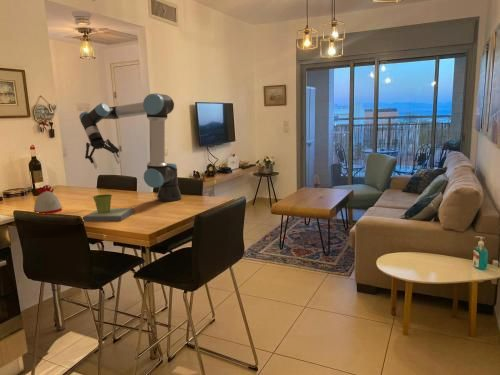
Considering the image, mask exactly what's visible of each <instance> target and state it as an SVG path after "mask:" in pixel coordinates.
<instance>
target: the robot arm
mask: <svg viewBox="0 0 500 375" xmlns="http://www.w3.org/2000/svg"><path fill="white" fill-rule="evenodd" d="M174 108H175V103H174V100H173V98H172V97H171V96H169V94H168V95H167V94H163V93H162V94H161V93H150V94H148V95H146V97H145V98H144V99H143V101H142V102H135V103H129V104H122V105H116V106H108V105H107V104H106V103H104V102H100V103H99V104H97V105H96V106H95V107H94V108H93V109H91V111H88V110H86V111H84V112H80V114H79V117H78V118H79V120H80V123H81V125H82V127H83V130H84V132H85V134H86V136H87V138H88V141H89V142H86V143H85V148H86V149H85V156H84V159H86V160H87V159H88V160H89V162H90V163H91V164H92V165H93V167H94V169H95V170H96V169H97V168H98V164H97V163H96V159H95V158H94V156H93V154H94V153H95V151H96V150H102V149H104V150H106V151H108V152H110V153H112V154H113V157H114V159H115V162H116V164H117V165H119V164H120V158H119V157H120V156H119V154H118V153H119V152H120V149H119V148H118V147H117V146H116V145H115V144H113V143H112V142H111V140H109V139H108V138H106V140H104V138H103V136H102V134H101V132H100V129H99V127H98V123H99V122H101V121H102V120H117V119H122V118H123V119H124V118H129V117H137V116H142V115H144V116H145V115H146V118H147V119H148V122H149V161H148V163H147V164H146V170H145V172H144V173H143V180H144V182H145V184H146V185H147V186H148V187H150V188H154V189H155V188H158V192H157V195H156V198H157V199H156V200H157V201H158V202H176V201H179V200H181V199H182V194H181V191H180V188H179V182H178V166H177V164H176V163H166V162H165V160H166V158H165V155H166V154H165V150H166V149H165V147H166V146H165V145H166V141H165V137H166V135H165V134H166V133H165V132H166V131H165V129H166V127H165V124H166V120H167V119H168V114H170V113H172V112H173V110H174ZM90 147H92V150H91V152H90ZM89 152H90V153H89Z"/></svg>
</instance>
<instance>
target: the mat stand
mask: <svg viewBox="0 0 500 375" xmlns="http://www.w3.org/2000/svg"><path fill="white" fill-rule="evenodd" d="M134 213H135V208H132V207H124V208H123V207H118V208H117V207H116V208H114V207H113V208H112V207H110V212H107V213H98V211H97V209H96V210H93V211H91V212H89V213H87V214H86V215H84V216H83V217H82V221H83V220H84V221H83V222H122V221H123V220H125V219H127V218H128V217H130V216H132V214H134Z"/></svg>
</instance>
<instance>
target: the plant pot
mask: <svg viewBox="0 0 500 375" xmlns="http://www.w3.org/2000/svg"><path fill="white" fill-rule="evenodd" d="M112 197H113V195H112V194H109V193H108V194H107V193H105V194H97V195H94V196H92V198H93V201H94V203H95V206H96V210H97V211H98V213H107V212H110V208H111V202H112Z"/></svg>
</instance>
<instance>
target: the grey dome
mask: <svg viewBox="0 0 500 375" xmlns="http://www.w3.org/2000/svg"><path fill="white" fill-rule="evenodd" d="M37 192H38V193H39V194H38V196H37V197H36V199H35V200H34V201H35V202H34V207H33V212H39V213H51V214H56V213H59V212H61V211H63V209H62V204H61V202H60V200H59V198H58V197H57V195H55V193H53V192H54V188H52V189H51V186H50V187H48V185H46V186H45V185H43V187H41V186H39V189H37Z"/></svg>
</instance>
